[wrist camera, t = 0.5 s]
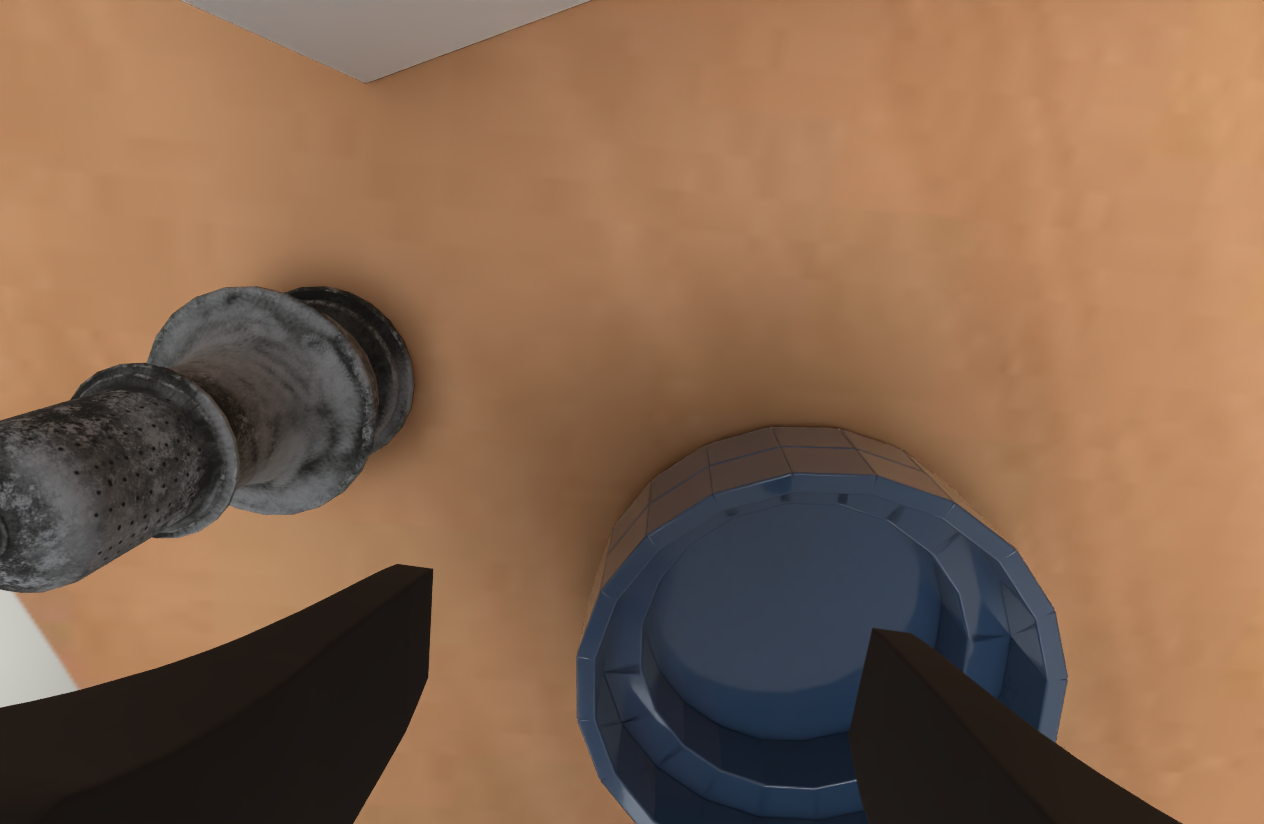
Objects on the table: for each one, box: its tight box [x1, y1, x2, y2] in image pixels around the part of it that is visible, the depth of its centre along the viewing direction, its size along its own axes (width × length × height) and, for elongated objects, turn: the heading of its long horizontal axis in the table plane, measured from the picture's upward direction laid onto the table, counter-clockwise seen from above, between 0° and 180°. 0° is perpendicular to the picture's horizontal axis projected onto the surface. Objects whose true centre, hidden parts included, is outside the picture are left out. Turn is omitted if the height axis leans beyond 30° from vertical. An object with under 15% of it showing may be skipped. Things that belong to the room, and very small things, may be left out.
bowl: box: [576, 426, 1068, 824], centre depth 20 cm, size 12×12×4 cm
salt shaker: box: [0, 286, 415, 593], centre depth 15 cm, size 6×6×12 cm
